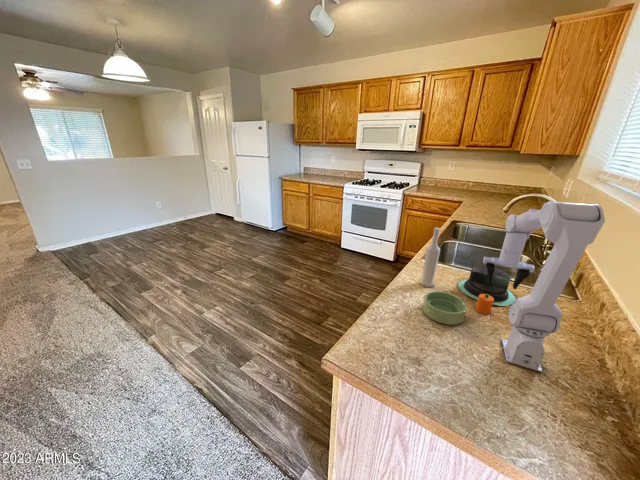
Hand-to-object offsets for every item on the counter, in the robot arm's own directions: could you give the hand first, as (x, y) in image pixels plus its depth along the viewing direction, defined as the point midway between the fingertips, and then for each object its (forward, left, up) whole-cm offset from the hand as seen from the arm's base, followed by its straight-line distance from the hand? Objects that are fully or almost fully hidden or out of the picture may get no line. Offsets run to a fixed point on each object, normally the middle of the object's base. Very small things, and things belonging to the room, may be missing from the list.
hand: (501, 285), depth 94 cm
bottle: (+5, +24, -9) cm, 26 cm away
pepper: (-5, +4, -9) cm, 11 cm away
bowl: (-14, +17, -9) cm, 24 cm away
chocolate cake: (+10, +2, -9) cm, 14 cm away
